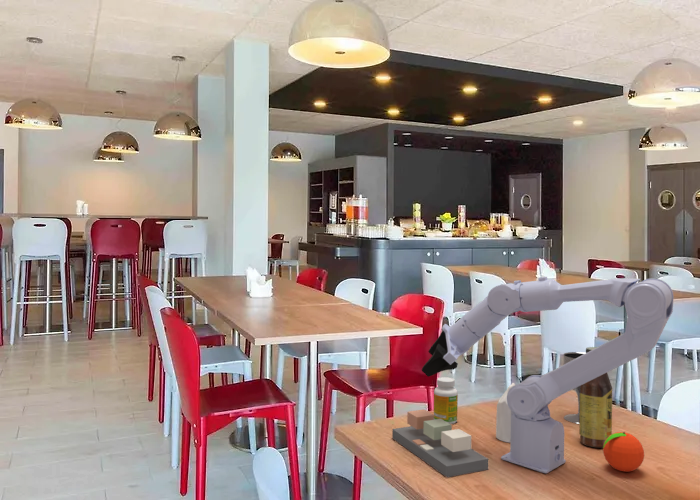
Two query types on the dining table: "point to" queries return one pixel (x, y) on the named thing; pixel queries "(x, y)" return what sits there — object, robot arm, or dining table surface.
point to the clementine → (623, 451)
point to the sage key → (435, 428)
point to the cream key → (456, 440)
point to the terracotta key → (418, 418)
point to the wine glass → (574, 417)
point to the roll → (503, 418)
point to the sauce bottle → (595, 410)
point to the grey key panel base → (439, 453)
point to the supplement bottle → (445, 400)
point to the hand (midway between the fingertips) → (428, 363)
